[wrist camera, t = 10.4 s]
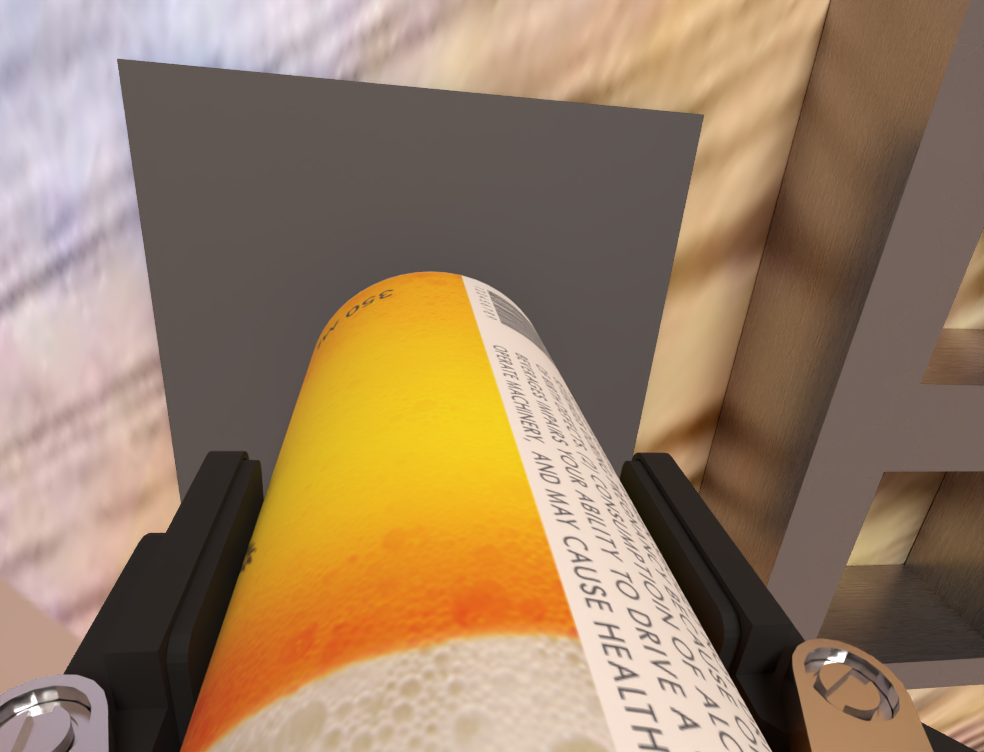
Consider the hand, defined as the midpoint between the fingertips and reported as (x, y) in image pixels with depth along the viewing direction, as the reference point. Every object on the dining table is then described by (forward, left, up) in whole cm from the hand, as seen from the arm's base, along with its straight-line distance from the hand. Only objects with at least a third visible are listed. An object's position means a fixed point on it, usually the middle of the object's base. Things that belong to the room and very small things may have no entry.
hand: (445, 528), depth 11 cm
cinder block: (0, +16, -8) cm, 18 cm away
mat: (0, 0, -8) cm, 8 cm away
